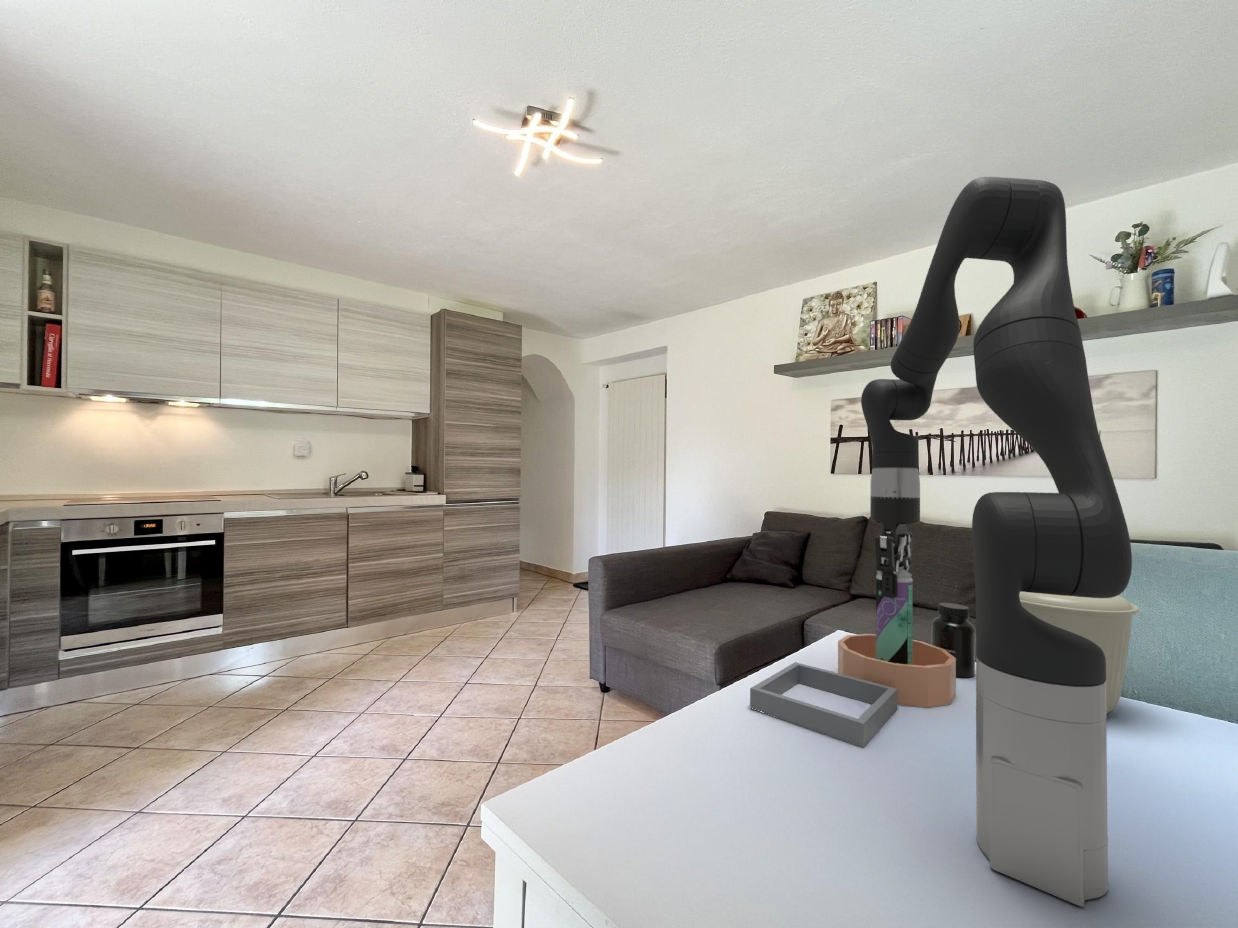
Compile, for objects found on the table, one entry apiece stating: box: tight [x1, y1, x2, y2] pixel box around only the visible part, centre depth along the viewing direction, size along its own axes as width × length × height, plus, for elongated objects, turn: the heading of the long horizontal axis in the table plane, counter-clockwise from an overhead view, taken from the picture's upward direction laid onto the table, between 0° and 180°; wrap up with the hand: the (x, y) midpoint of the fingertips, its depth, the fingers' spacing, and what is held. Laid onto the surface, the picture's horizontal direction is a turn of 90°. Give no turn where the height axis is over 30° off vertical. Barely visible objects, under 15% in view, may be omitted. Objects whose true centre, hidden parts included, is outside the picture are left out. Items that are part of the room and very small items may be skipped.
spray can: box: [875, 562, 914, 665], centre depth 88 cm, size 6×6×20 cm
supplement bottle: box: [930, 602, 976, 679], centre depth 95 cm, size 7×7×12 cm
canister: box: [1019, 592, 1140, 714], centre depth 82 cm, size 18×18×21 cm
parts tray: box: [749, 661, 898, 748], centre depth 77 cm, size 16×16×3 cm
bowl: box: [837, 633, 957, 709], centre depth 87 cm, size 17×17×6 cm
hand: (894, 593), depth 88 cm, fingers closed on spray can, 5 cm apart
